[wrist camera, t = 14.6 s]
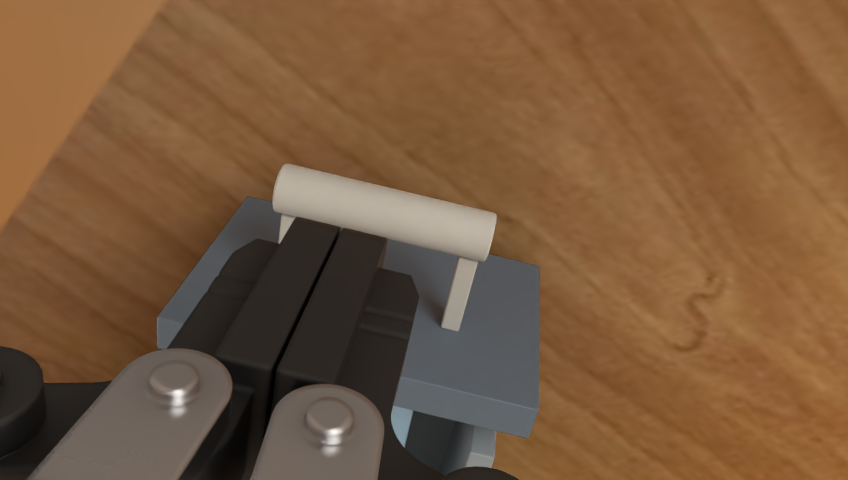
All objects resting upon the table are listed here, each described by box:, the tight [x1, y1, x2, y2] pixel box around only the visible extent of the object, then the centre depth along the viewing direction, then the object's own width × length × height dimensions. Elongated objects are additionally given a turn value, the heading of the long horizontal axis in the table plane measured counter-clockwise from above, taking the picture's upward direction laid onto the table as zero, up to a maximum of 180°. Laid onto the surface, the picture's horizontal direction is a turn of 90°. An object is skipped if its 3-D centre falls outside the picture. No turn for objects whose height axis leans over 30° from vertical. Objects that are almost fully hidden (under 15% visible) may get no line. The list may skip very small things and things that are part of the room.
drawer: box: [157, 163, 540, 476], centre depth 27 cm, size 18×11×8 cm, turn 169°
